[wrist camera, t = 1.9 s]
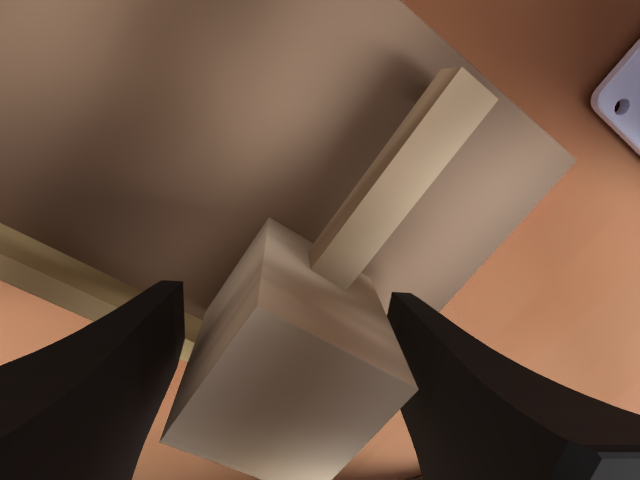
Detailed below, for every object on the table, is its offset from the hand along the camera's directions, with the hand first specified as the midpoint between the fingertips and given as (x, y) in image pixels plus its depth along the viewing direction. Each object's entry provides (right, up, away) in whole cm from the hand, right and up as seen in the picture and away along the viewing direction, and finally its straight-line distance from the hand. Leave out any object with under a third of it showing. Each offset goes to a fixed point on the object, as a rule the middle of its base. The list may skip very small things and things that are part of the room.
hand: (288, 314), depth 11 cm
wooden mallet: (+2, +3, 0) cm, 3 cm away
